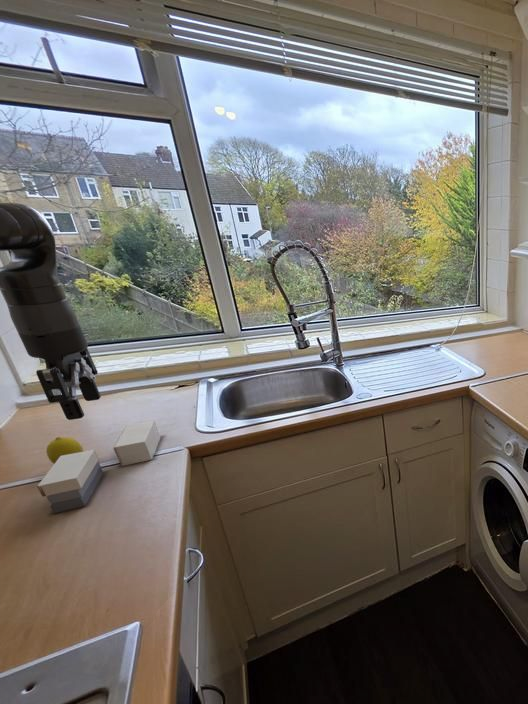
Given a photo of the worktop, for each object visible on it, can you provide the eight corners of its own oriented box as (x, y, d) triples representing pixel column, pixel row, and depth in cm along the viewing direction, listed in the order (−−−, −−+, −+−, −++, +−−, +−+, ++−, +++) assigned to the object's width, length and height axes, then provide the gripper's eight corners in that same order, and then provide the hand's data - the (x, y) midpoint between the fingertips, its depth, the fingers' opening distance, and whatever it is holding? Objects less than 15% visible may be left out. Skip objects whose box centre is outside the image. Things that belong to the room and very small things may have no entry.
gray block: (54, 513, 81) (45, 497, 80) (76, 478, 92) (69, 463, 90) (85, 506, 84) (77, 490, 82) (103, 472, 94) (96, 458, 92)
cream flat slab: (42, 497, 80) (36, 486, 79) (65, 465, 89) (60, 455, 88) (81, 488, 83) (76, 477, 82) (99, 458, 92) (94, 449, 91)
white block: (121, 466, 96) (113, 447, 94) (133, 442, 106) (126, 425, 104) (151, 459, 99) (144, 441, 97) (160, 437, 108) (154, 420, 106)
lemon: (82, 457, 99) (68, 429, 96) (93, 463, 97) (79, 434, 94) (51, 469, 95) (35, 439, 91) (61, 476, 92) (46, 446, 89)
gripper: (38, 319, 75) (74, 397, 82) (-5, 340, 64) (40, 429, 70) (92, 315, 79) (122, 391, 85) (60, 335, 67) (97, 421, 74)
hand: (85, 408), depth 78 cm, fingers open, 8 cm apart
